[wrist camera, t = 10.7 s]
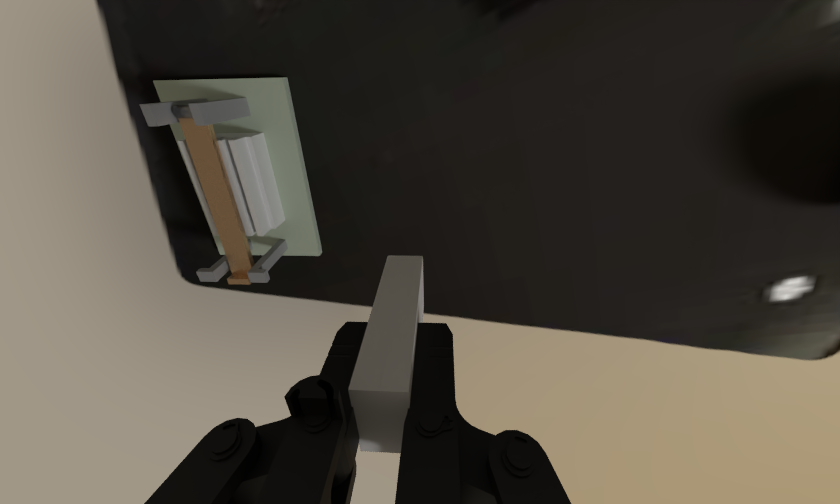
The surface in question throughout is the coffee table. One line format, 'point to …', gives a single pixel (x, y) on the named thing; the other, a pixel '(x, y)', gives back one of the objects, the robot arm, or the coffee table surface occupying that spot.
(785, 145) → the coffee table surface
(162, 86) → the heatsink fixture
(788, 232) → the coffee table surface
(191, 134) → the strap
